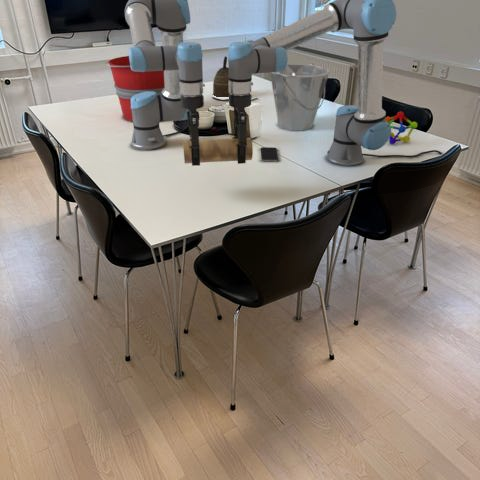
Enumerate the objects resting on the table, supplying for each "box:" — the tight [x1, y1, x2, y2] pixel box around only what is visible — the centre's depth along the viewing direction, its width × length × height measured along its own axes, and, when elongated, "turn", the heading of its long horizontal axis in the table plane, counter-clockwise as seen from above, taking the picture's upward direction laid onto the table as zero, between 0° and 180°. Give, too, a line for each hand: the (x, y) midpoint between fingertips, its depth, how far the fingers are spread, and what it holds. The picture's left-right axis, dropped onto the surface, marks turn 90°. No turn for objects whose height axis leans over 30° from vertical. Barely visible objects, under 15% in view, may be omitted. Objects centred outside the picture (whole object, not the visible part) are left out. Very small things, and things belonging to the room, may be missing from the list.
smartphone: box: [260, 146, 279, 162], centre depth 196 cm, size 7×1×15 cm
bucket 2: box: [269, 63, 330, 131], centre depth 226 cm, size 30×30×28 cm
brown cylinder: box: [182, 137, 254, 164], centre depth 155 cm, size 24×8×8 cm, turn 98°
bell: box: [212, 56, 230, 97], centre depth 278 cm, size 19×26×20 cm
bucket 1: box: [105, 55, 165, 123], centre depth 239 cm, size 35×35×30 cm
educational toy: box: [385, 110, 418, 145], centre depth 207 cm, size 16×13×15 cm
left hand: (195, 160), depth 156 cm, fingers closed on brown cylinder, 8 cm apart
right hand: (239, 158), depth 158 cm, fingers closed on brown cylinder, 8 cm apart
